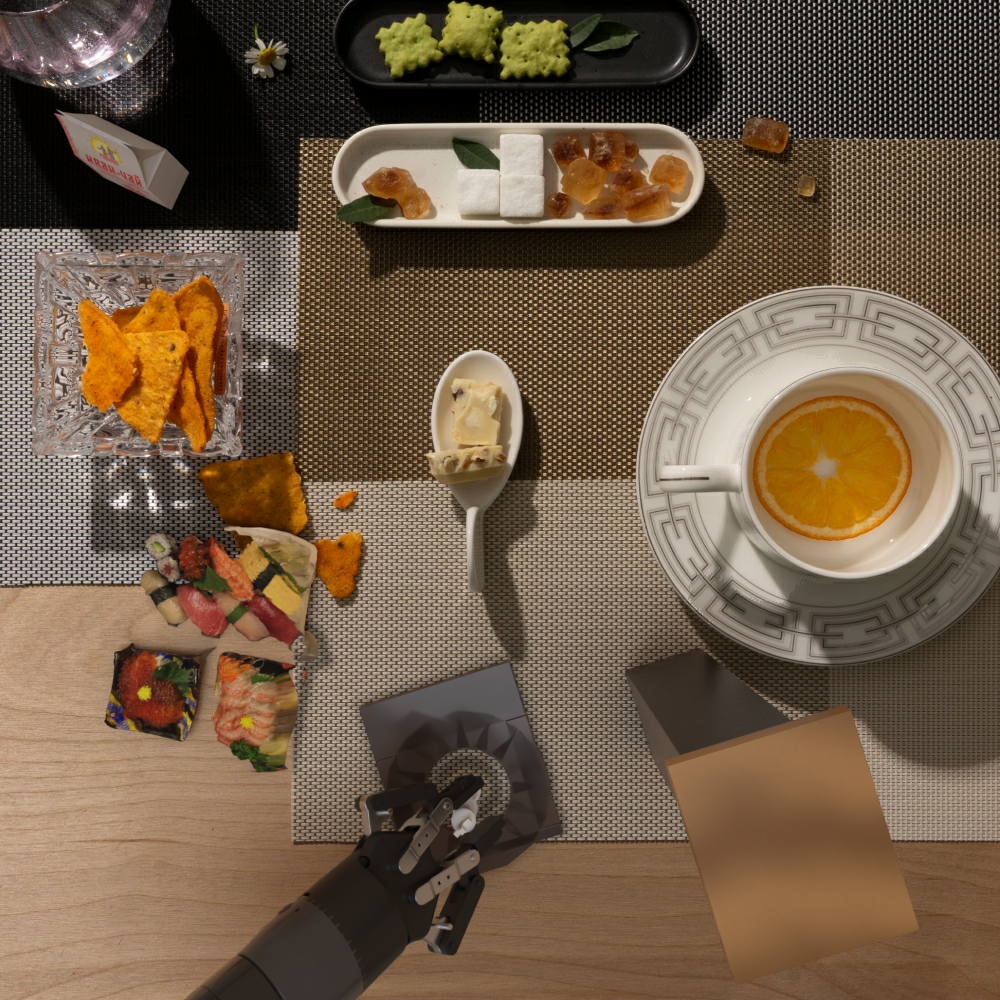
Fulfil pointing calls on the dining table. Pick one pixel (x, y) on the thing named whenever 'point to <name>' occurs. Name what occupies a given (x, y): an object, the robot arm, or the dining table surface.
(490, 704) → the board
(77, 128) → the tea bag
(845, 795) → the tan rectangular panel
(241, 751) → the food
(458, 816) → the chess piece
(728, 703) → the pillar
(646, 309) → the dining table surface
